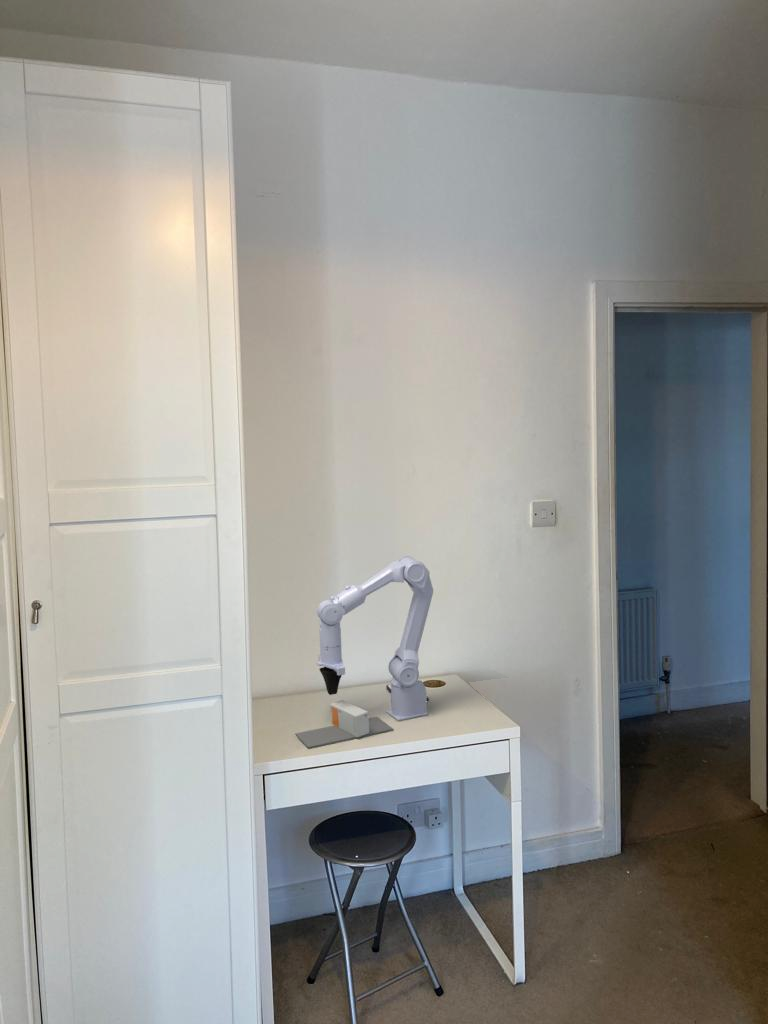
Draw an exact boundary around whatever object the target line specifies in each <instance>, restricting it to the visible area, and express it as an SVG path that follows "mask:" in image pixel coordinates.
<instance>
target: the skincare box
mask: <svg viewBox="0 0 768 1024" xmlns="http://www.w3.org/2000/svg"><path fill="white" fill-rule="evenodd" d="M330 717H331V726H336V727H338V728H339V729H341V730H343V731H345V732H347V733H349V734H351V735H353V736H355V737H360V736H363V735H366V734H368V733H369V718H370V717H369V711H367V710H365V709H363V708H361V707H359V706H356V705H354V704H352V703H350V702H349V701H345V700H344V699H343V700H342V699H341V700H339V701H336V702H333V703H330Z"/></svg>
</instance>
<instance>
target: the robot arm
mask: <svg viewBox="0 0 768 1024" xmlns="http://www.w3.org/2000/svg"><path fill="white" fill-rule="evenodd" d="M430 575H431V574H430V570H429V569H428V568H427V567H426V566H425V564H424V563H423V562H422V561H419V560H416V559H415V558H414V557H412V556H410V555H405V556H402V557H400V558H399V559H398V560H394V561H392V562H391V563H389V565H387V566H386V567H385V568H383V569H382V570H380V571H379V572H378V573H376V574H374V575H373V576H372V577H370V578H369V579H367V580H366V581H365V582H363V583H362V584H360V585H357V584H356V585H355V584H352V585H351V586H350V585H348V584H347V585H346V586H345V587H344V589H343V590H342V591H341V592H339V593H338V594H336V595H332V596H330V597H329V598H330V599H325V600H323V601H322V602H320V603H319V605H318V606H317V609H316V614H317V617H318V618H319V646H320V647H319V651H320V652H319V654H318V655H317V657H318V661H316V666H318V667H320V668H319V672H320V673H321V676H322V678H323V681H324V684H325V687H326V691H327V694H328V695H330V696H333V695H337V694H338V689H339V685H340V681H341V678H342V676H344V675H346V667H345V666H344V661H343V659H342V657H343V656H342V655H343V654H342V635H341V633H342V630H341V621H342V619H343V617H344V616H345V615H348V614H349V613H350V612H352V611H353V610H355V609H357V608H359V607H360V606H361V605H363V604H364V603H365V602H366V598H367V596H369V595H371V594H372V593H374V592H377V591H378V590H379V589H381V588H384V587H385V586H387V585H389V584H390V583H401V584H403V583H405V582H406V583H407V584H408V586H409V588H410V590H411V591H412V592H413V594H412V597H411V602H410V606H409V609H408V614H407V618H406V622H405V625H404V629H403V633H402V637H401V641H400V644H399V647H398V648H397V649H396V650H395V652H394V655H393V657H392V659H391V660H389V662H388V665H387V666H388V667H387V668H388V672H389V674H390V675H391V676H392V678H391V680H390V684H391V694H390V697H391V698H390V699H391V708H390V709H386V710H385V712H386V713H387V714H389V715H390V716H391V717H392V718H394V719H395V720H397V721H398V722H399V721H404V720H409V719H413V718H417V717H418V718H419V717H423V716H427V715H429V712H428V710H427V703H428V702H426V696H427V689H426V685H425V684H424V682H423V681H422V680H419V677H420V672H419V664H420V659H419V648H420V644H421V641H422V636H423V633H424V629H425V626H426V622H427V618H428V613H429V612H430V611H429V610H430V607H431V606H430V605H431V602H432V598H433V596H434V588H433V584H432V580H431V578H430Z"/></svg>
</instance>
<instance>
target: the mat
mask: <svg viewBox="0 0 768 1024" xmlns="http://www.w3.org/2000/svg"><path fill="white" fill-rule="evenodd" d="M368 718H369V733H368V734H366V735H363V736H360V737H355V736H353V735H351V734H349V733H347V732H345V731H343V730H341V729H339V728H338V727H336V726H334V725H329V726H325V727H324V726H323V727H319V728H315V729H311V730H306V731H301V732H296V733H294V736H295V735H296V736H297V737H298V738H299V739H298V738H297V737H296V736H295V737H296V738H297V739H298V741H299V742H300V743H302V744H303V745H304V747H305V748H307V750H310V749H317V748H320V747H323V746H329V745H334V744H338V743H344V742H349V741H352V740H356V739H360V738H361V739H362V738H366V737H370V736H376V735H379V733H380V734H385V733H389V732H393V731H394V728H393V727H392V726H390V725H389V724H388V723H386V722H385V721H384V720H382V719H381V718H379V717H378V716H374V717H368ZM375 734H376V735H375Z"/></svg>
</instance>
